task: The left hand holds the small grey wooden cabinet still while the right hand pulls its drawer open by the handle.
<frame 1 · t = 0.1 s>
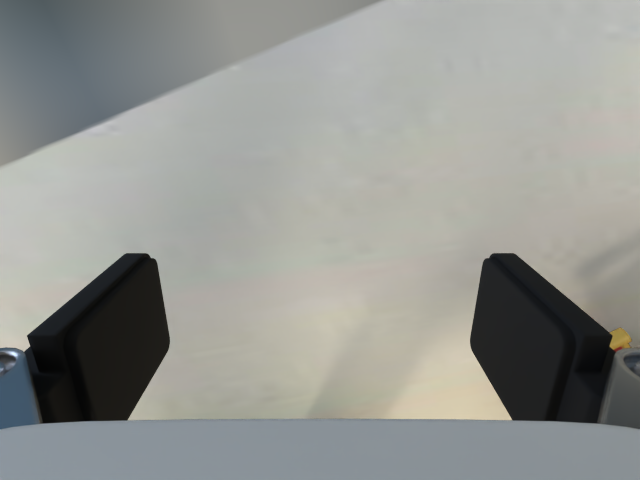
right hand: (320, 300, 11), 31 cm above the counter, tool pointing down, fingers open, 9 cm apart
drawer: (615, 404, 46), point 5 cm above the counter, slide at 1.2 cm
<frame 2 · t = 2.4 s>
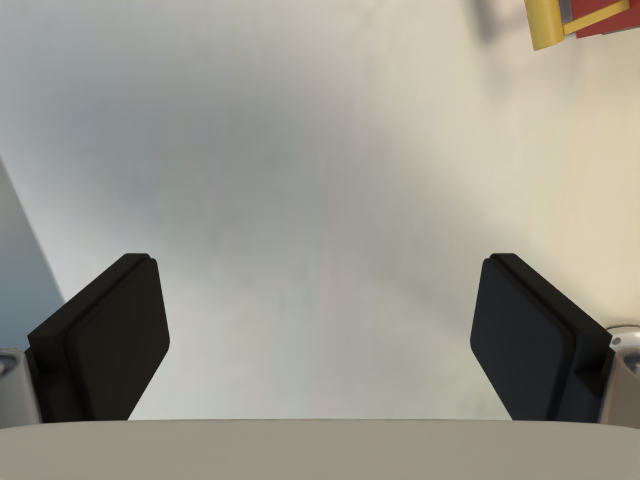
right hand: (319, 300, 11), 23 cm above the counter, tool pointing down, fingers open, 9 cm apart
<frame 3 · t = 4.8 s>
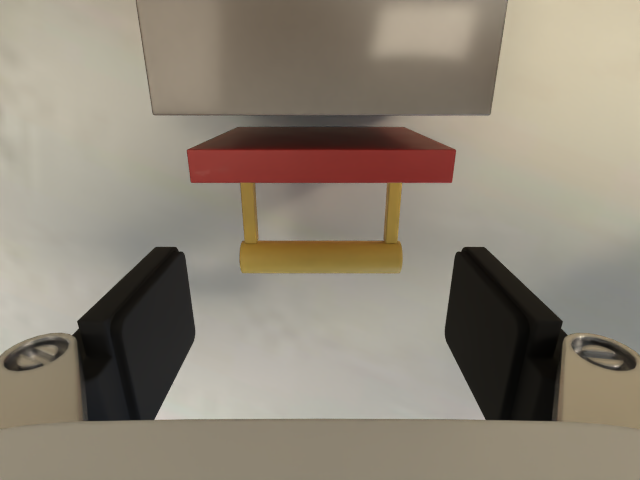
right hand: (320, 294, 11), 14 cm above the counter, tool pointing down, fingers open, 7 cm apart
drawer: (321, 40, 16), point 5 cm above the counter, slide at 1.2 cm
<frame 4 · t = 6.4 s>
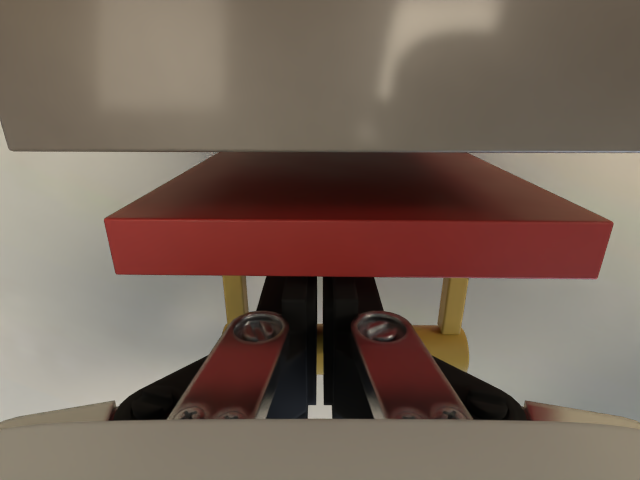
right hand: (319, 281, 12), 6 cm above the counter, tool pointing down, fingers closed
drawer: (349, 20, 10), point 5 cm above the counter, slide at 1.4 cm
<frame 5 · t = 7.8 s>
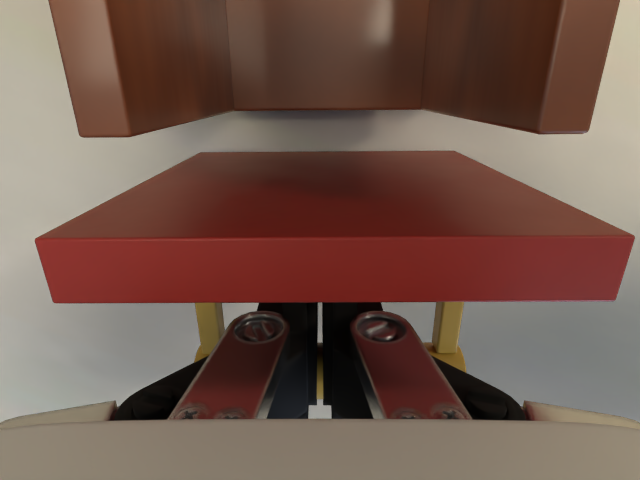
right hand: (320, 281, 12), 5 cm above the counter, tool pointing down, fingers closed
drawer: (328, 7, 9), point 5 cm above the counter, slide at 8.0 cm, touching right hand
when the left hand's fingers open (6 cm above the counter, at t = 9.7 s): cabinet stays where it is, on the counter.
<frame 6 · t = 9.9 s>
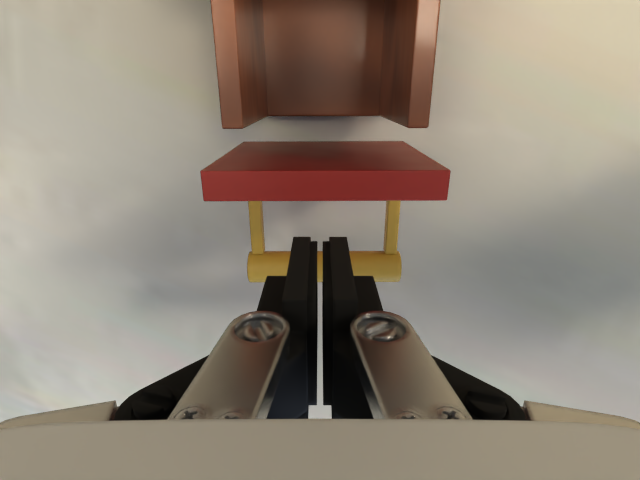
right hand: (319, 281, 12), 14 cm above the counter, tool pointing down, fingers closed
drawer: (324, 64, 17), point 5 cm above the counter, slide at 7.9 cm
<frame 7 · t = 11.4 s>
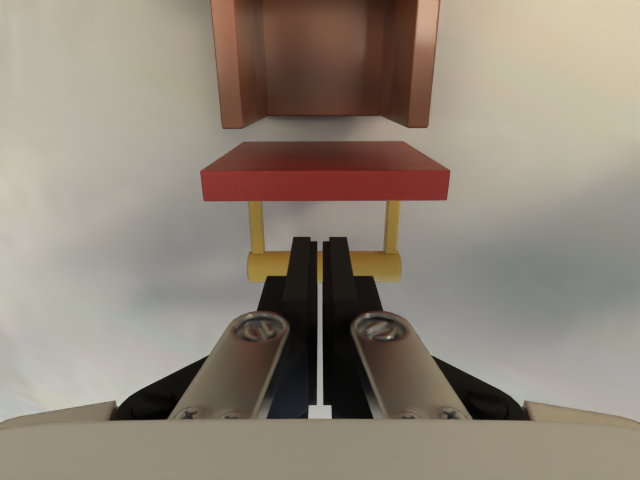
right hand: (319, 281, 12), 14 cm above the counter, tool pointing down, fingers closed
drawer: (324, 64, 17), point 5 cm above the counter, slide at 7.9 cm
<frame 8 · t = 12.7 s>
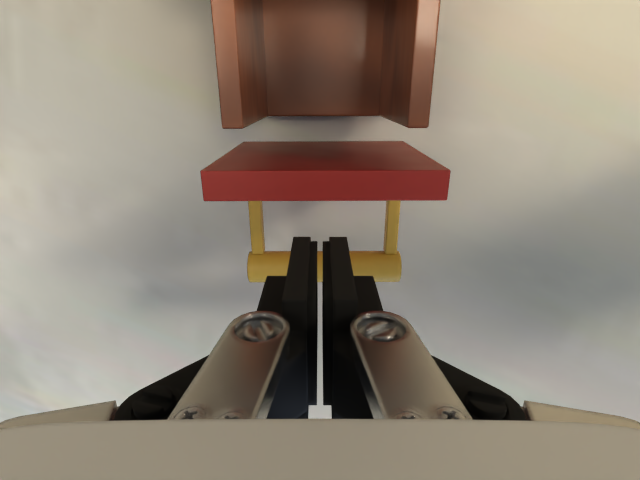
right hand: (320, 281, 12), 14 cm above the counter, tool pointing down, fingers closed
drawer: (324, 64, 17), point 5 cm above the counter, slide at 7.9 cm
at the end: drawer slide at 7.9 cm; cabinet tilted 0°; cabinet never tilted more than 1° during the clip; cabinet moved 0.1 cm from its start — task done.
